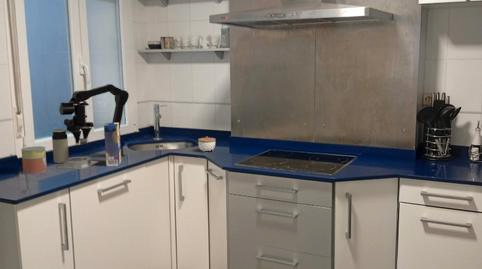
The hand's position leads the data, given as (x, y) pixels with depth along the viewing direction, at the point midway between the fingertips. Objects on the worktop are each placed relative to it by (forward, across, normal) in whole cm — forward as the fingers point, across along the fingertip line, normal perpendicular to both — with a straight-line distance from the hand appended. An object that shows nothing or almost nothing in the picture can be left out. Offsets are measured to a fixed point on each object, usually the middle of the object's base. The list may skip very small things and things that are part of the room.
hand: (81, 141), depth 257 cm
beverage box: (+11, +1, +20) cm, 23 cm away
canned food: (+12, +24, -12) cm, 30 cm away
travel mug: (+12, +1, -12) cm, 17 cm away
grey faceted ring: (+12, +8, +2) cm, 14 cm away
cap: (+1, 0, 0) cm, 1 cm away
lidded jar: (+10, -40, +61) cm, 74 cm away
